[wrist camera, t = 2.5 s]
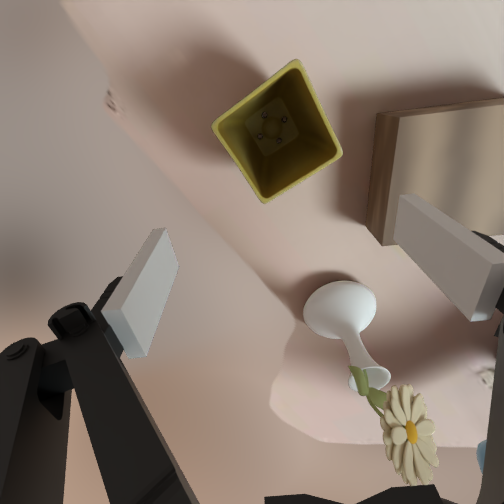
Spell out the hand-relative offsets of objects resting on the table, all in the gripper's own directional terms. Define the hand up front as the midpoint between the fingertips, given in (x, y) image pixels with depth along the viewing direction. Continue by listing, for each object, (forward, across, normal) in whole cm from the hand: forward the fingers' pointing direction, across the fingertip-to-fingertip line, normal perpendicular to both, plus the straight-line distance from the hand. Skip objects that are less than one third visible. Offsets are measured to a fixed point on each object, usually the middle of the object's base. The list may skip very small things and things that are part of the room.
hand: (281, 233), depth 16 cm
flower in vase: (+20, -9, +24) cm, 32 cm away
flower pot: (+21, -1, -3) cm, 21 cm away
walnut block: (+20, -20, +5) cm, 29 cm away
